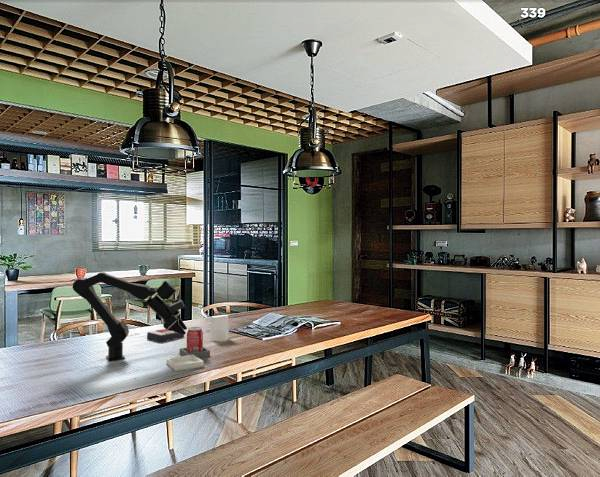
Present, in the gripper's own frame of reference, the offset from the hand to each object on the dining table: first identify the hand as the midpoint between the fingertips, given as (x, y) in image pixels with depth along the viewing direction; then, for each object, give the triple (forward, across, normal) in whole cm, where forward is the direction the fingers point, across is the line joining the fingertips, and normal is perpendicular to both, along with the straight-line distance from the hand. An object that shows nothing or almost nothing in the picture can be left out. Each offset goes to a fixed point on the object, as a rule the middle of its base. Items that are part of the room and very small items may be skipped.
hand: (185, 331), depth 194 cm
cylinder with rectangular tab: (+19, +28, -3) cm, 33 cm away
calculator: (0, +34, +16) cm, 38 cm away
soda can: (+10, 0, +5) cm, 12 cm away
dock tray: (+8, -15, +7) cm, 18 cm away
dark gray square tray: (+10, 0, +5) cm, 11 cm away
